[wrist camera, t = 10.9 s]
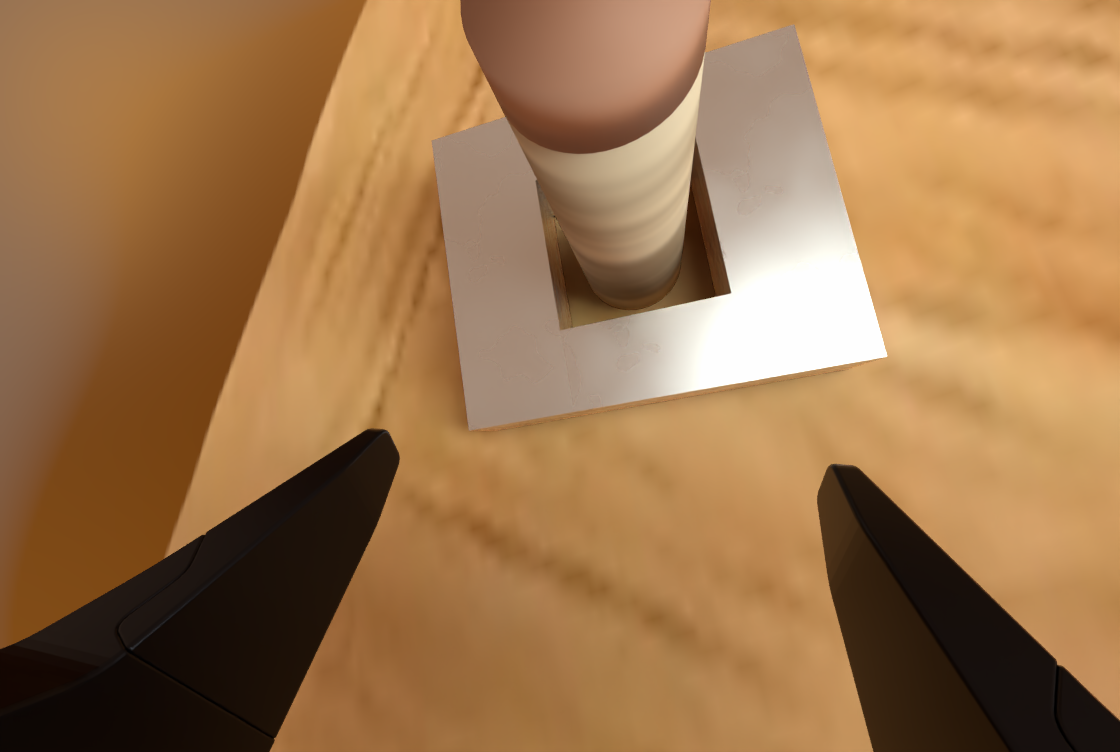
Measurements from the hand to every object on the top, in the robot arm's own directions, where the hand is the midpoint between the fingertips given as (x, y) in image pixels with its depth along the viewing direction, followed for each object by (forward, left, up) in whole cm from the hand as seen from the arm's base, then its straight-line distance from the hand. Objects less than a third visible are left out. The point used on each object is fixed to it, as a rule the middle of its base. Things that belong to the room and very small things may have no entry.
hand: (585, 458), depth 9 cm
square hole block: (+7, -2, -9) cm, 12 cm away
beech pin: (+7, -2, -9) cm, 12 cm away
